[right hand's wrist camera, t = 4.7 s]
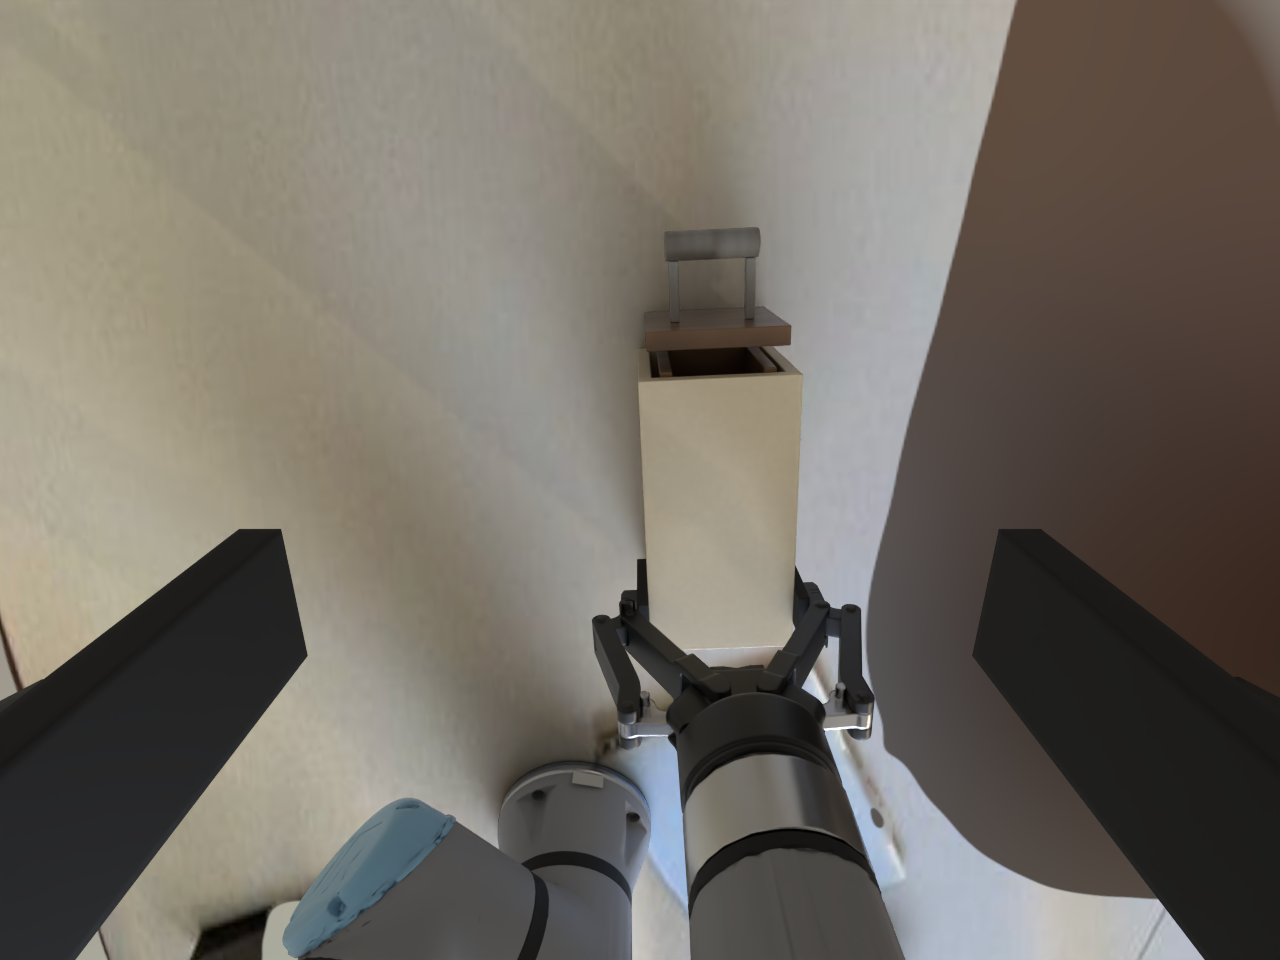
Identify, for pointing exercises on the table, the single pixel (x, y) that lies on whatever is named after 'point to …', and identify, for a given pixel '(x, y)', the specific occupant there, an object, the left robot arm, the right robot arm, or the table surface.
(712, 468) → the cabinet
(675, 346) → the drawer
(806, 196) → the table surface
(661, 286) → the table surface
